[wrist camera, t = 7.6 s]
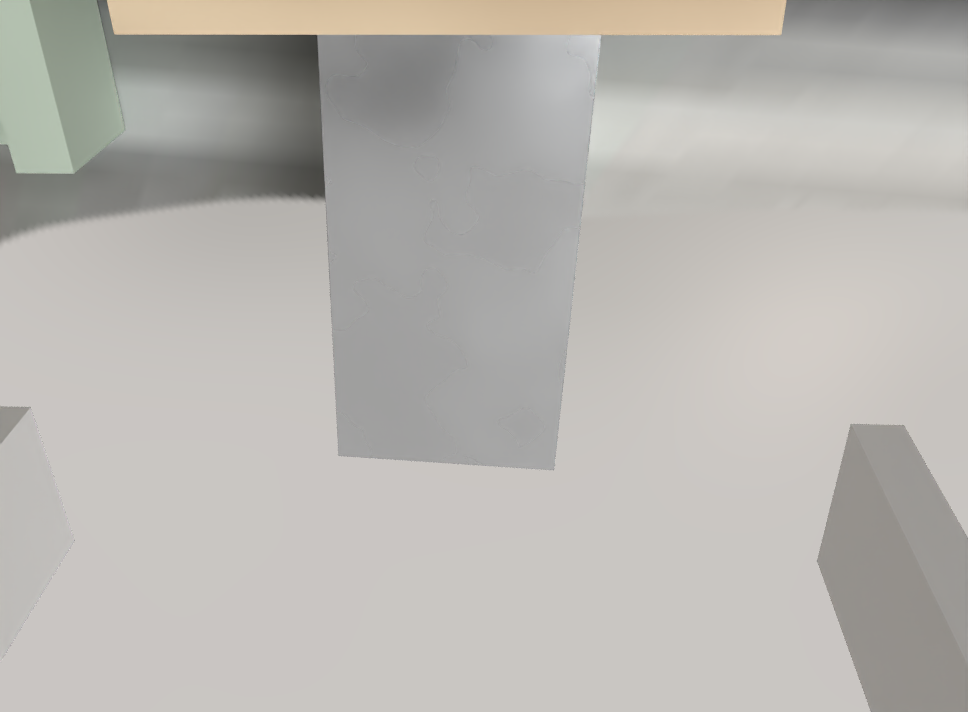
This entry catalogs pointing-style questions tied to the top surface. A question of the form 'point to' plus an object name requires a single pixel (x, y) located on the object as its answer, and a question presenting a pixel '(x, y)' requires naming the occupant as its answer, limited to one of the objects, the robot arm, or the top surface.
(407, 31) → the block
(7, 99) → the cradle
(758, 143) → the top surface
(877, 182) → the top surface
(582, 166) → the steel bar
